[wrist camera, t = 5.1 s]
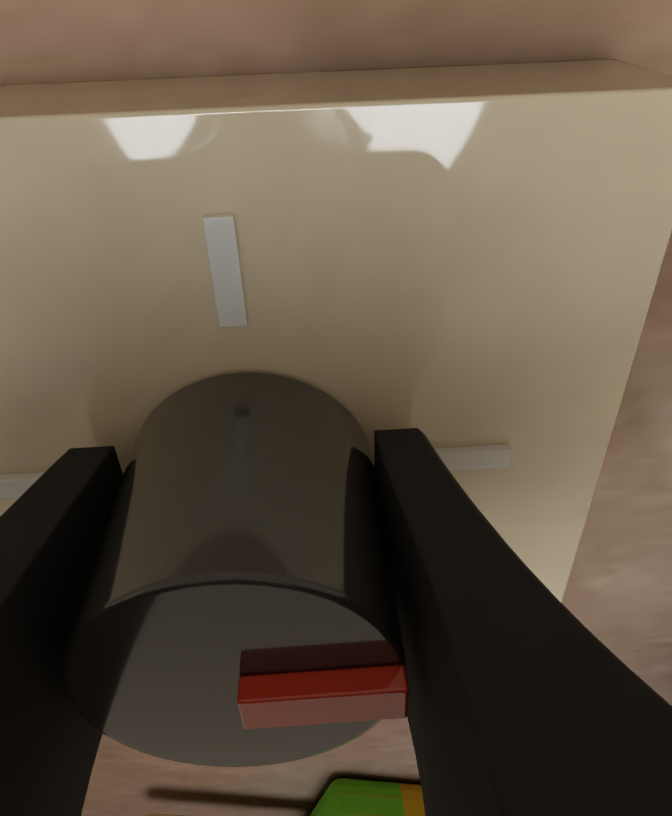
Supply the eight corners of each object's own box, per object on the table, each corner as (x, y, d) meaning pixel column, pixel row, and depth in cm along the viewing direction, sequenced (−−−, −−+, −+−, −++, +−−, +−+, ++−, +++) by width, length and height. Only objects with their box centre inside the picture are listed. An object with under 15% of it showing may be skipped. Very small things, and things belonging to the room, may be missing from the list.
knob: (159, 557, 10) (102, 808, 7) (106, 377, 8) (-8, 623, 5) (373, 542, 10) (406, 784, 7) (373, 362, 8) (420, 593, 5)
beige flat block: (-52, 634, 15) (-110, 744, 13) (-411, 101, 8) (-660, 149, 6) (505, 596, 16) (539, 697, 13) (617, 58, 9) (725, 88, 6)
